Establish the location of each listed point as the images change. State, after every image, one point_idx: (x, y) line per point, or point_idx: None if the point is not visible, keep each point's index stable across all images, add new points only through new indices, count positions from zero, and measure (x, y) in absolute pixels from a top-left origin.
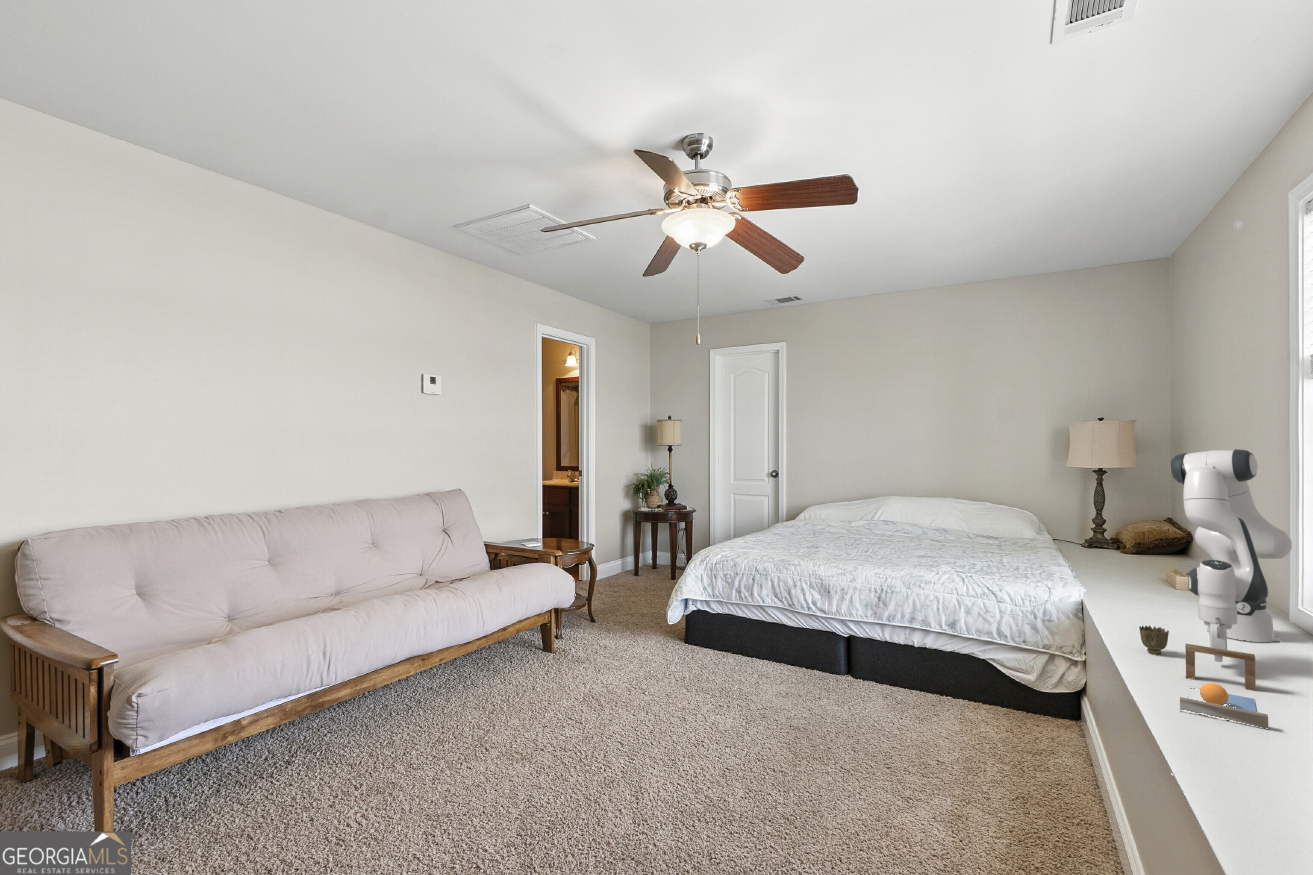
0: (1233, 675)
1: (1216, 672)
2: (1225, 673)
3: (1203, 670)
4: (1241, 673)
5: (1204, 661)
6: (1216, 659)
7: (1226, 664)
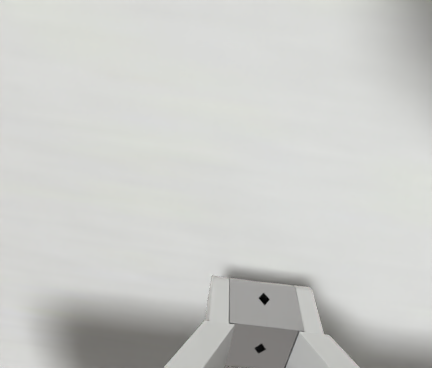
0: (50, 295)
1: (39, 218)
2: (63, 264)
3: (15, 136)
4: (142, 335)
5: (357, 188)
6: (209, 295)
7: (332, 305)
